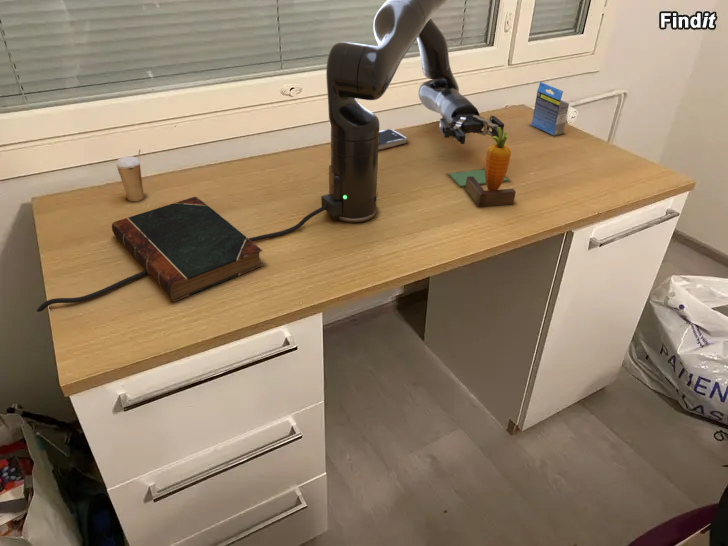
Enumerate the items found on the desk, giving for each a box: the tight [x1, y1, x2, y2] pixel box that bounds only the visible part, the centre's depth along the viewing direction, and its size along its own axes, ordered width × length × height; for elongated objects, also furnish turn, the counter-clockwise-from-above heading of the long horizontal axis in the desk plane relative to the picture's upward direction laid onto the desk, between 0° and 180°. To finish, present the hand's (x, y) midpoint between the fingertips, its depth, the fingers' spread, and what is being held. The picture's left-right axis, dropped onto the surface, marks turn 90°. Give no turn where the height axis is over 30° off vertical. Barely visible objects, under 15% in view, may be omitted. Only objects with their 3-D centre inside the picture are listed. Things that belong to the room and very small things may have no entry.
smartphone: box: [378, 128, 407, 151], centre depth 150 cm, size 8×1×15 cm
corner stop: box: [464, 176, 517, 208], centre depth 127 cm, size 8×8×3 cm
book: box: [111, 196, 264, 302], centre depth 106 cm, size 17×4×25 cm
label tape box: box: [531, 81, 570, 137], centre depth 158 cm, size 9×4×12 cm, turn 30°
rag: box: [448, 168, 509, 188], centre depth 135 cm, size 12×6×1 cm, turn 107°
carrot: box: [484, 127, 512, 190], centre depth 124 cm, size 5×5×15 cm
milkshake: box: [115, 149, 145, 202], centre depth 121 cm, size 4×5×10 cm
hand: (482, 139), depth 131 cm, fingers open, 8 cm apart
